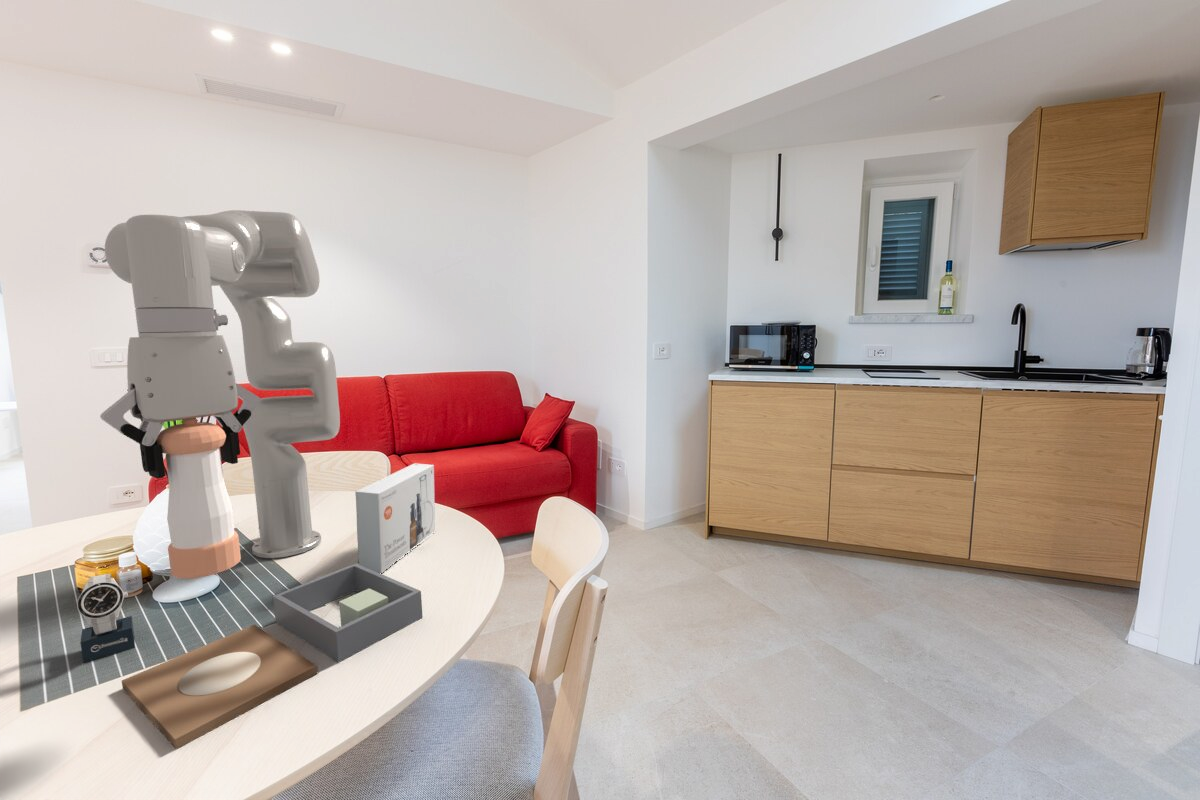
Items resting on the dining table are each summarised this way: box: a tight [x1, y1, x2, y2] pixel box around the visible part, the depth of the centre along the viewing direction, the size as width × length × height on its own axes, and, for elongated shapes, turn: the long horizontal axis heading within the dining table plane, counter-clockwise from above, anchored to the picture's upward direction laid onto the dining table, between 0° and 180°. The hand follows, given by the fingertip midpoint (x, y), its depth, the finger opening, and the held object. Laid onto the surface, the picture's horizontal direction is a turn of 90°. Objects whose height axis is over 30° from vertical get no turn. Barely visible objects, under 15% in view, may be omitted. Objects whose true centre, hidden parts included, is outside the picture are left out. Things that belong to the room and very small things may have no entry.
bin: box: [272, 563, 423, 663], centre depth 88 cm, size 18×14×4 cm
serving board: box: [121, 624, 319, 750], centre depth 74 cm, size 18×16×1 cm
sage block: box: [338, 589, 389, 627], centre depth 85 cm, size 5×5×5 cm
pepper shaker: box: [157, 418, 242, 580], centre depth 70 cm, size 7×7×19 cm
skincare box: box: [355, 462, 436, 574], centre depth 113 cm, size 21×5×16 cm, turn 168°
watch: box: [76, 572, 136, 664], centre depth 81 cm, size 6×8×11 cm
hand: (195, 468), depth 69 cm, fingers closed on pepper shaker, 7 cm apart
